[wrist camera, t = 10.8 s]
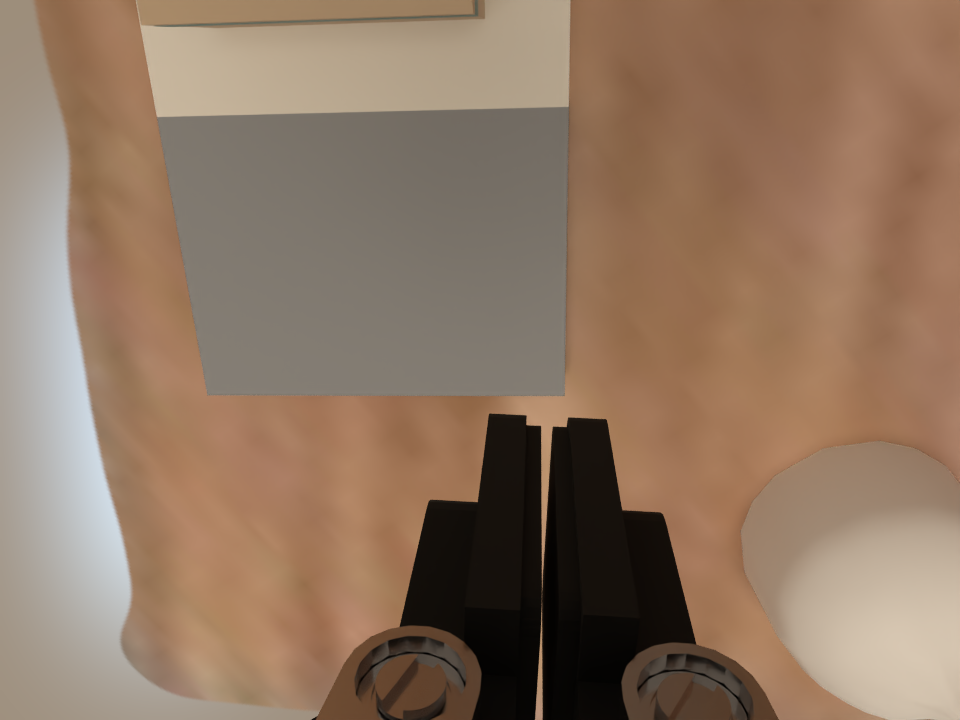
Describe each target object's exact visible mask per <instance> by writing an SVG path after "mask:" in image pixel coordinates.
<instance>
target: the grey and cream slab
mask: <svg viewBox="0 0 960 720" xmlns="http://www.w3.org/2000/svg"><path fill="white" fill-rule="evenodd" d="M136 4H137V0H136ZM137 10H138V6H137ZM138 15H139V11H138ZM139 21H140V16H139ZM140 26H141V32H142V37H143V43H144V48H145V54H146V59H147V65H148V70H149V76H150V81H151V87H152V92H153V98H154V103H155V109H156V114H157V120H158V125H159V131H160V136H161V142H162V147H163V153H164V158H165V164H166V169H167V175H168V180H169V186H170V191H171V197H172V202H173V208H174V213H175V219H176V224H177V230H178V235H179V241H180V246H181V252H182V257H183V263H184V268H185V274H186V279H187V285H188V290H189V296H190V301H191V307H192V312H193V318H194V323H195V329H196V334H197V340H198V345H199V351H200V356H201V362H202V367H203V373H204V378H205V384H206V389H207V395H332V396H565V330H566V263H567V196H568V129H569V62H570V0H485V19H468V20H439V21H410V22H380V23H351V24H322V25H292V26H263V27H234V28H202V27H156V26H149V25H141V22H140Z"/></svg>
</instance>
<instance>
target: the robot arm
mask: <svg viewBox="0 0 960 720" xmlns="http://www.w3.org/2000/svg"><path fill="white" fill-rule="evenodd" d="M541 609H542V669H543V720H779V719H778V717H777V715H776V713H775V711H774V709H773V708H772V706H771V704H770V702H769V700H768V698H767V696H766V694H765V692H764V691H763V690H762V688H761V687H760V685H759V684H758V683H757V681H756V680H755V678H754V677H753V676H752V675H751V674H750V673H749V672H748V671H747V670H745V669H744V668H743V667H742V666H741V665H739V664H738V663H737V662H736V661H734V660H732V659H731V658H729V657H727V656H725V655H723V654H721V653H719V652H717V651H716V650H712V649H709V648H706V647H702V646H699V645H696V641H695V637H694V633H693V629H692V625H691V621H690V617H689V613H688V609H687V605H686V601H685V597H684V593H683V589H682V585H681V581H680V577H679V573H678V569H677V565H676V561H675V557H674V553H673V549H672V545H671V541H670V537H669V533H668V529H667V525H666V521H665V519H664V516H663V514H662V513H660V512H642V511H624V510H622V507H621V501H620V495H619V489H618V483H617V477H616V471H615V465H614V459H613V453H612V447H611V441H610V435H609V429H608V423H607V420H606V419H588V418H568V421H567V427H553V431H552V444H551V460H550V475H549V491H548V506H547V522H546V537H545V553H544V569H543V588H542V525H541V426H529V425H526V415H506V414H489V418H488V426H487V434H486V442H485V450H484V458H483V466H482V474H481V482H480V489H479V497H478V502H462V501H444V500H430V501H429V503H428V506H427V510H426V514H425V518H424V523H423V527H422V531H421V536H420V540H419V545H418V549H417V553H416V558H415V562H414V566H413V571H412V575H411V579H410V584H409V588H408V593H407V597H406V601H405V606H404V610H403V614H402V619H401V623H400V627H398V628H392V629H388V630H386V631H383V632H381V633H379V634H376V635H374V636H372V637H370V638H369V639H367V640H366V641H365V642H363V643H362V644H361V645H359V646H358V647H357V648H355V649H354V651H353V652H352V654H351V655H350V656H349V658H348V659H347V660H346V662H345V663H344V665H343V667H342V669H341V671H340V673H339V675H338V677H337V679H336V681H335V683H334V685H333V687H332V689H331V691H330V693H329V695H328V697H327V699H326V701H325V703H324V705H323V706H322V708H321V710H320V712H319V714H318V716H317V717H315V718H313V719H312V720H535V711H536V695H537V680H538V665H539V649H540V633H541Z"/></svg>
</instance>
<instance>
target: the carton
mask: <svg viewBox="0 0 960 720" xmlns="http://www.w3.org/2000/svg"><path fill="white" fill-rule="evenodd" d="M137 6H138V11H139V16H140V22H141V25H149V26H156V27H202V28H234V27H263V26H292V25H322V24H351V23H380V22H410V21H439V20H468V19H485V0H137Z"/></svg>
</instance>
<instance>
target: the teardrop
mask: <svg viewBox="0 0 960 720" xmlns="http://www.w3.org/2000/svg"><path fill="white" fill-rule="evenodd" d="M741 541H742V552H743V563H744V573H745V574H746V576H747V578H748V580H749V582H750V584H751V586H752V588H753V590H754V592H755V594H756V596H757V598H758V600H759V602H760V604H761V605H762V607H763V609H764V611H765V613H766V615H767V617H768V619H769V621H770V623H771V625H772V627H773V629H774V631H775V633H776V635H777V636H778V638H779V639H780V640H781V642H782V643H783V644H784V646H785V647H786V648H787V650H788V651H789V652H790V653H791V655H792V656H793V657H794V659H795V660H796V661H797V663H798V664H799V665H800V667H801V668H802V669H803V670H804V671H805V672H806V673H807V674H808V675H809V676H810V677H811V678H812V679H813V680H814V681H816V682H817V683H818V684H819V685H820V686H821V687H822V688H824V689H825V690H827V691H829V692H830V693H832V694H833V695H835V696H836V697H838V698H839V699H841V700H843V701H844V702H846V703H847V704H849V705H851V706H854V707H856V708H858V709H860V710H862V711H864V712H866V713H869V714H872V715H875V716H878V717H882V718H885V719H888V720H916V719H934V720H960V483H959V482H958V481H957V480H956V478H955V477H954V476H953V475H952V473H951V472H950V471H949V470H948V468H947V467H946V466H945V465H944V464H942V463H940V462H938V461H937V460H935V459H933V458H932V457H930V456H928V455H926V454H925V453H923V452H921V451H920V450H918V449H916V448H912V447H907V446H902V445H898V444H893V443H888V442H883V441H873V442H866V443H859V444H851V445H844V446H837V447H830V448H823V449H821V450H819V451H817V452H816V453H814V454H812V455H810V456H809V457H807V458H805V459H803V460H802V461H800V462H798V463H796V464H794V465H793V466H791V467H789V468H787V469H786V470H784V471H782V472H780V473H779V474H777V475H775V476H774V477H773V478H772V480H771V481H770V482H769V483H768V484H767V485H766V487H765V488H764V489H763V490H762V491H761V492H760V494H759V495H758V496H757V497H756V498H755V499H754V501H753V502H752V504H751V506H750V509H749V511H748V514H747V516H746V519H745V522H744V524H743V527H742V529H741Z"/></svg>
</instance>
